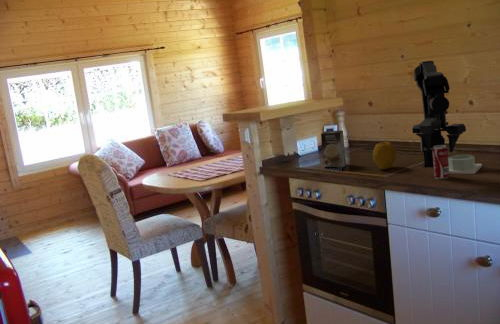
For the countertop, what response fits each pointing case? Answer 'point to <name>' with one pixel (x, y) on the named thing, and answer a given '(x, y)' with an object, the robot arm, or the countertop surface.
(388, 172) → the countertop surface
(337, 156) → the coffee box
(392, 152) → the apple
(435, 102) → the robot arm
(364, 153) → the countertop surface
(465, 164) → the can holder
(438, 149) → the soda can
